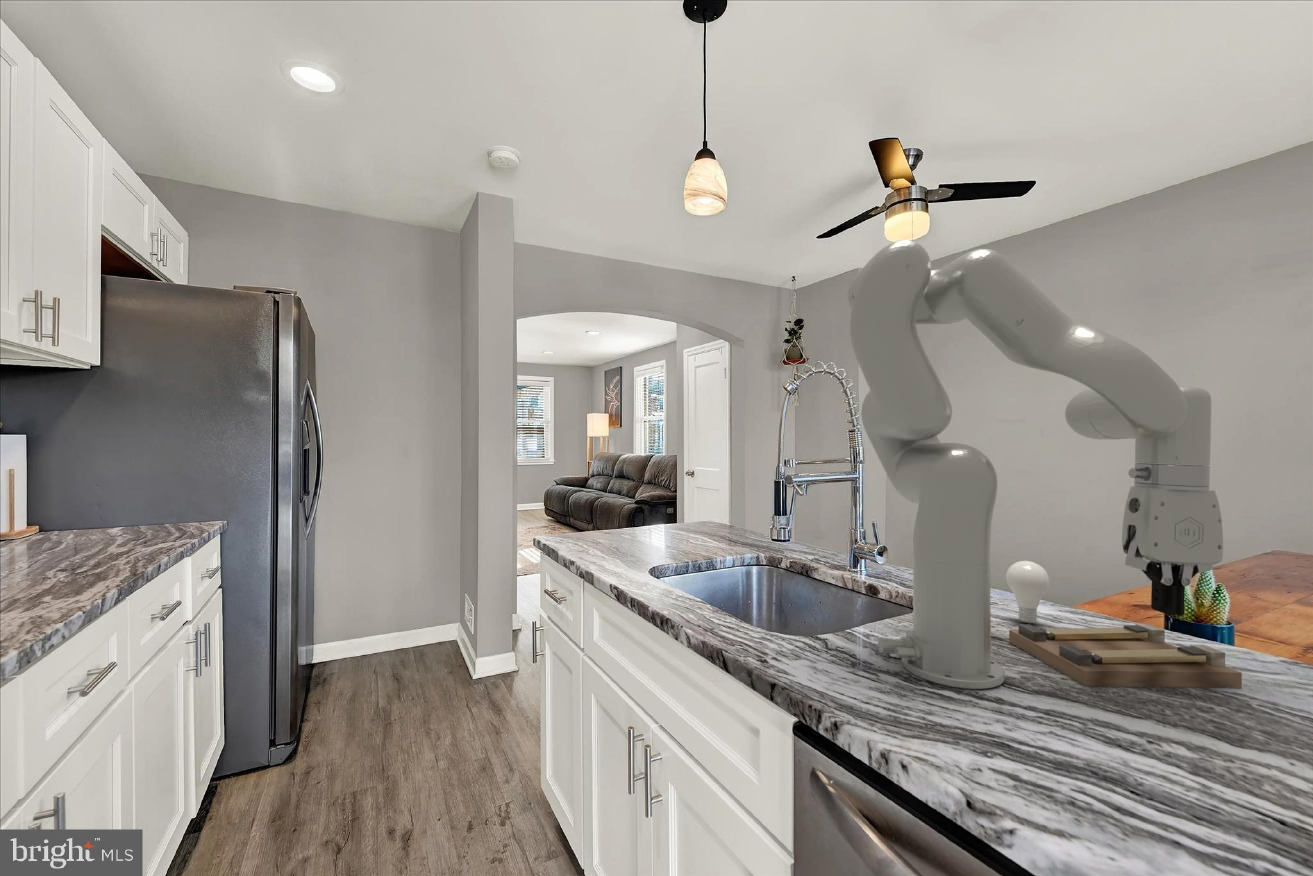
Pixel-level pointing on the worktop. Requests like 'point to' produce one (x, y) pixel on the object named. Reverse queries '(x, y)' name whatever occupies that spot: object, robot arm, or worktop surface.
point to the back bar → (1096, 633)
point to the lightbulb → (1027, 587)
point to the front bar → (1148, 655)
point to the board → (1154, 674)
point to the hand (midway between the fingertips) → (1167, 612)
